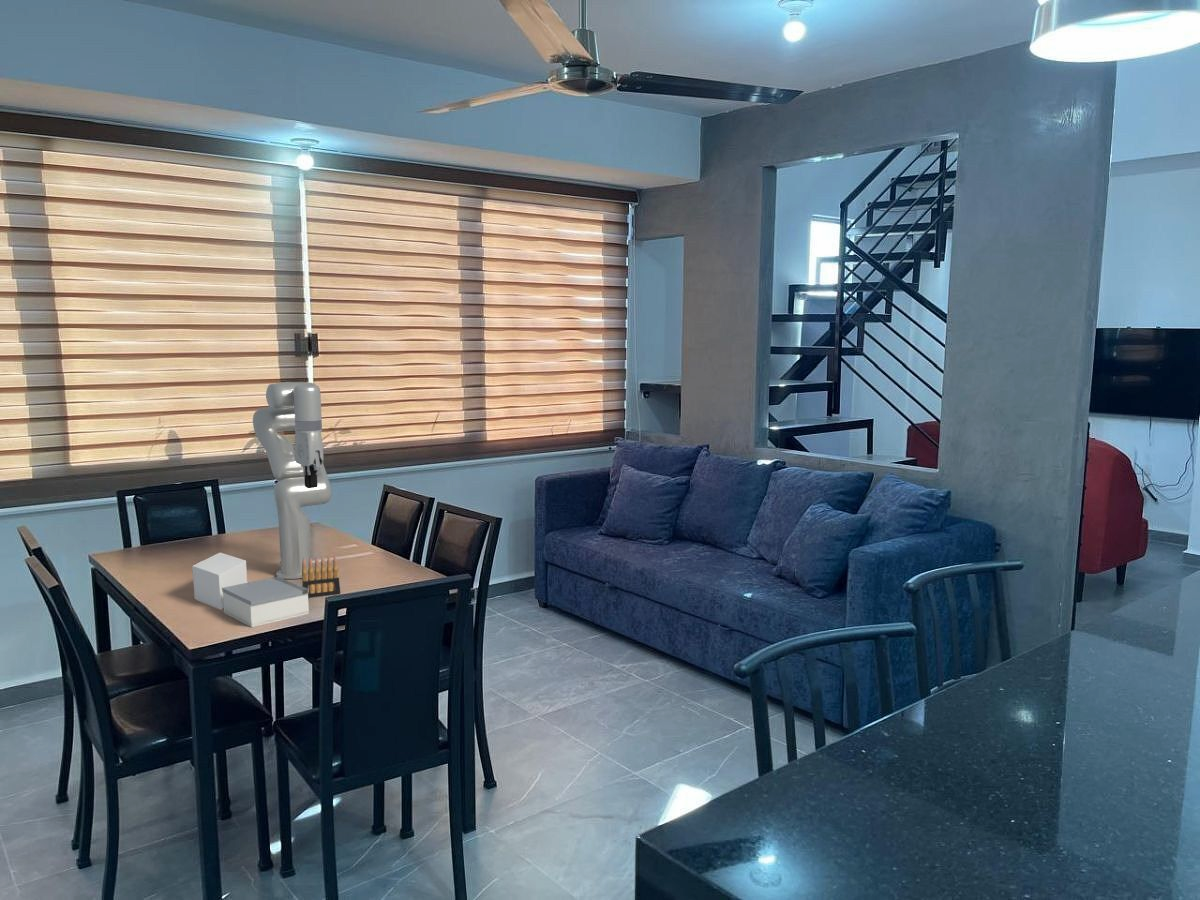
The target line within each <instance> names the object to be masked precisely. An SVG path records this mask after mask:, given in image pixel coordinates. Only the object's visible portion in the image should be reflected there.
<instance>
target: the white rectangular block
mask: <svg viewBox="0 0 1200 900" xmlns="http://www.w3.org/2000/svg"><path fill="white" fill-rule="evenodd" d="M192 578H193V591H194V593H193V595H194V600H195V599H196V601H199V602H200V603H203V604H205V605H208V606H211V607H213V608H215V609H217V610H221V611H222V610H224V601H223V591H222V588H223V587H228V586H233V585H238V584H243V583H248V572H247V561H246V560H245V559H242V558H239V557H236V556H233V555H229V554H226V553H223V552H218V553H216V554H214V555H212V556H210V557H208V558H205V559H204V560H201V561H199V562H197V563H196V564H194V565H192Z"/></svg>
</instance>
